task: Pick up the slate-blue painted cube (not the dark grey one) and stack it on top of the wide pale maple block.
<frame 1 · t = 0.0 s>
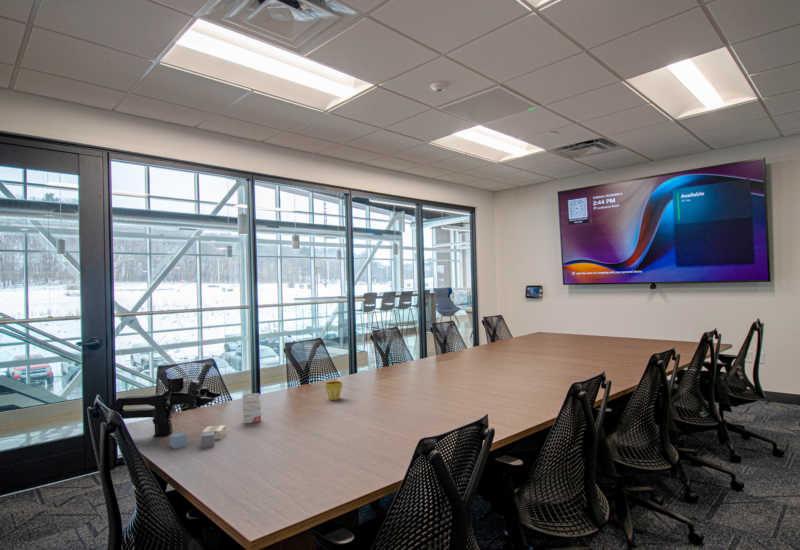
hand: (217, 396, 214), 17 cm above the table, tool horizontal, fingers open, 9 cm apart
blue cube: (178, 446, 196), on the table
plant pot: (334, 399, 270), on the table
ink cartridge box: (252, 421, 229), on the table
maple block: (214, 437, 207), on the table
grey cube: (208, 445, 196), on the table
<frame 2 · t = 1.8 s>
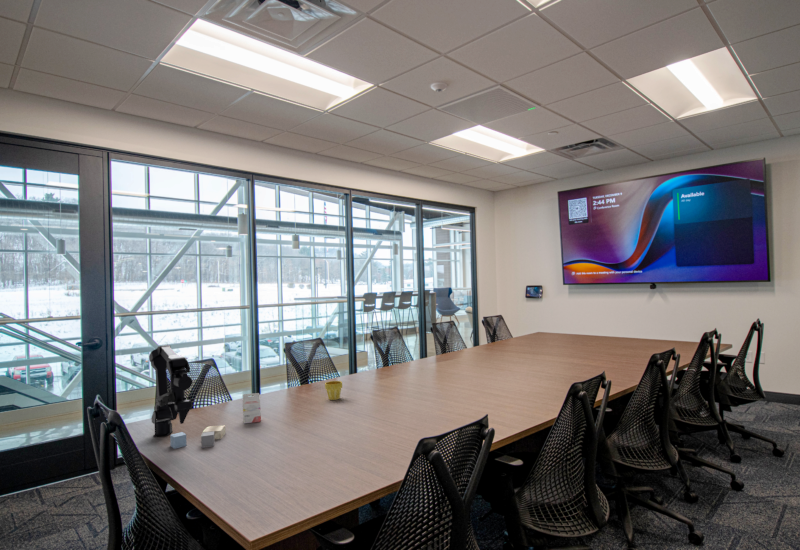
hand: (178, 421, 197), 11 cm above the table, tool pointing down, fingers open, 9 cm apart
nothing on the table moved.
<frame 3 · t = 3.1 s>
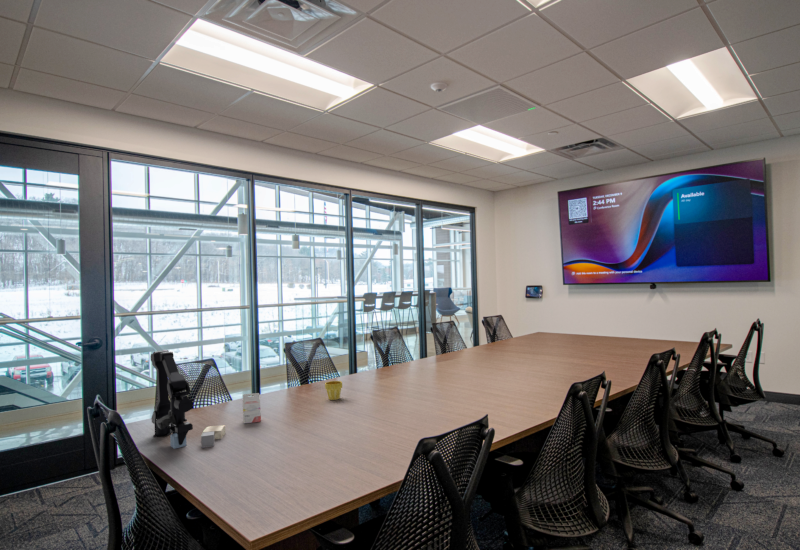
hand: (178, 443, 196), 1 cm above the table, tool pointing down, fingers closed on blue cube, 5 cm apart
blue cube: (178, 445, 196), on the table, touching gripper
everything else where it was.
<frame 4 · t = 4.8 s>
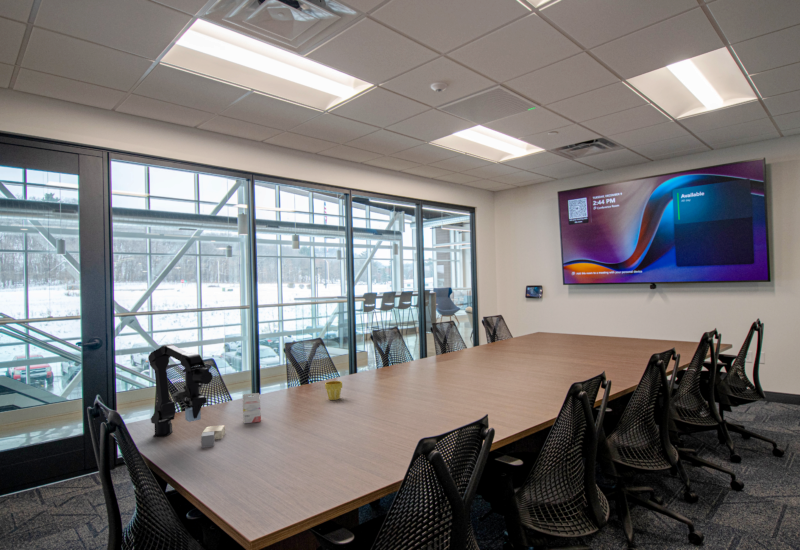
hand: (193, 417, 201), 11 cm above the table, tool pointing down, fingers closed on blue cube, 5 cm apart
blue cube: (193, 419, 201), point 10 cm above the table, touching gripper
everything else where it was.
when the fingers open (6 cm above the table, at t = 6.6 s): blue cube drops 1 cm, resting on maple block.
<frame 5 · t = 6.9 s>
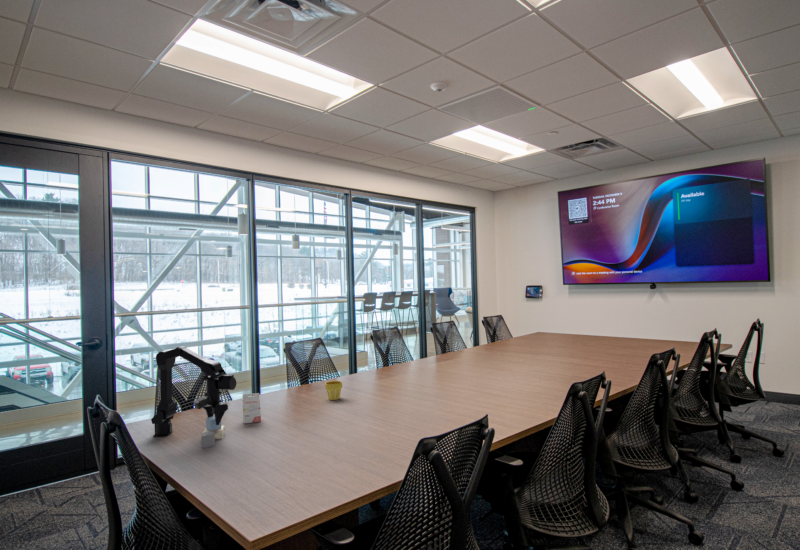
hand: (213, 423, 207), 6 cm above the table, tool pointing down, fingers open, 8 cm apart
blue cube: (213, 428, 207), point 4 cm above the table, touching maple block
maple block: (214, 437, 207), on the table, touching blue cube
everything else where it was.
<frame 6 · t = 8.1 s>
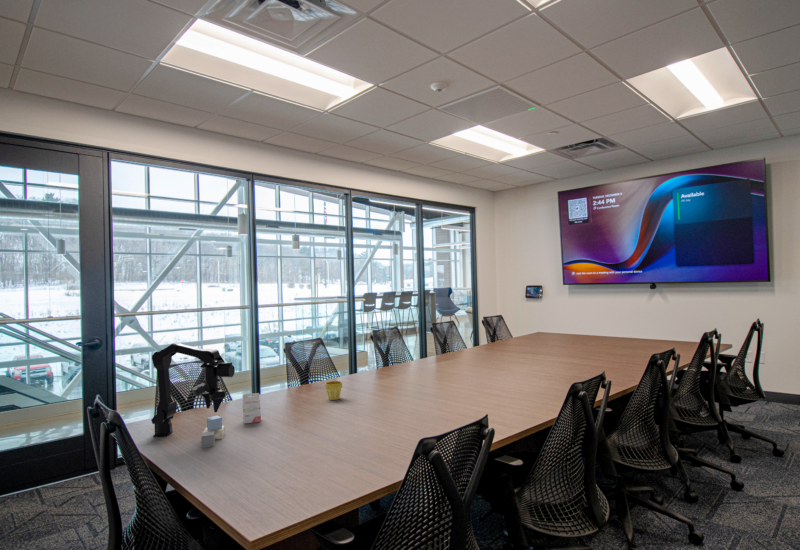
hand: (211, 410, 209), 12 cm above the table, tool pointing down, fingers open, 9 cm apart
blue cube: (214, 428, 207), point 4 cm above the table
maple block: (214, 437, 207), on the table
everything else where it was.
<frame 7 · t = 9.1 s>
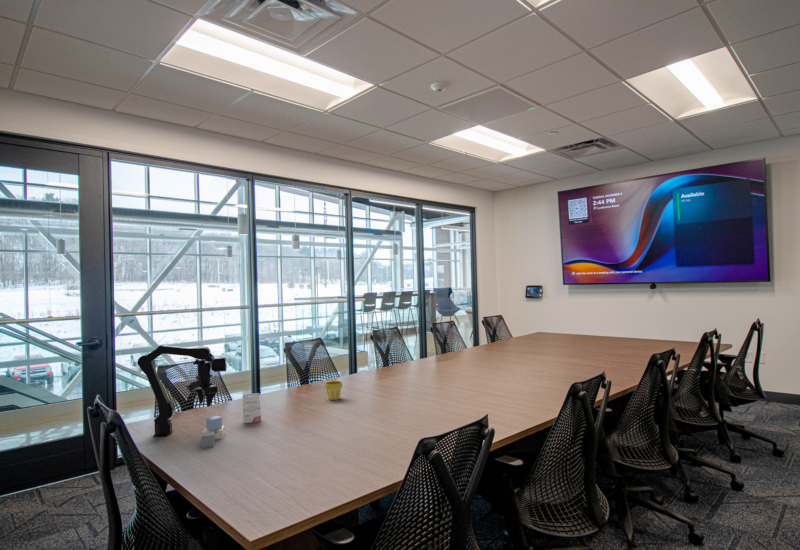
hand: (204, 404, 218), 12 cm above the table, tool pointing down, fingers open, 9 cm apart
blue cube: (214, 428, 207), point 4 cm above the table, touching maple block
maple block: (214, 437, 207), on the table, touching blue cube
everything else where it was.
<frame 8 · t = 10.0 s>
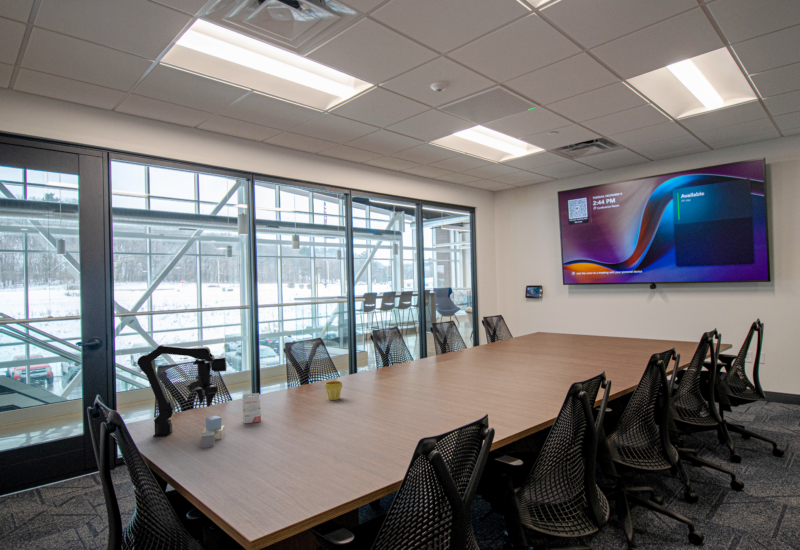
hand: (204, 404, 218), 12 cm above the table, tool pointing down, fingers open, 9 cm apart
blue cube: (213, 428, 207), point 4 cm above the table
maple block: (214, 437, 207), on the table
everything else where it was.
at the end: blue cube 0.4 cm off-centre on the maple block, point 4.0 cm above the maple block's base; the gripper is holding nothing; maple block moved 0.4 cm from its start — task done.
